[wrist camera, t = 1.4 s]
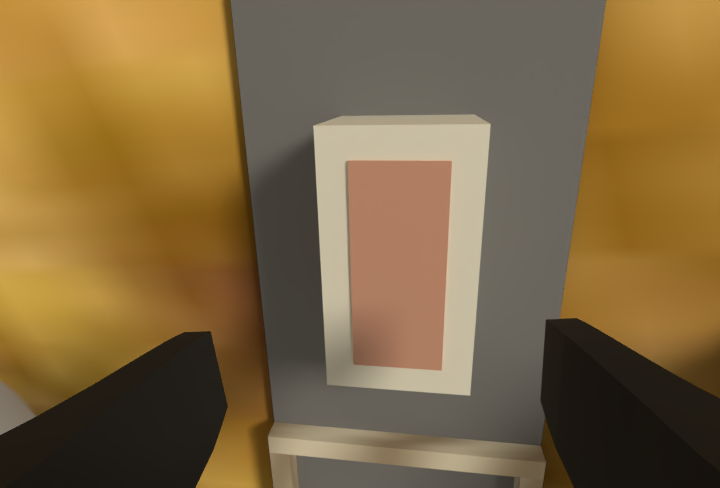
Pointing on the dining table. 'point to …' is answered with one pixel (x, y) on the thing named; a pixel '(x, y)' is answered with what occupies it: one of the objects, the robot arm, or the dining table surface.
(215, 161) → the dining table surface
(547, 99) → the mat
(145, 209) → the dining table surface
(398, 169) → the card box
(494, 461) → the frame
